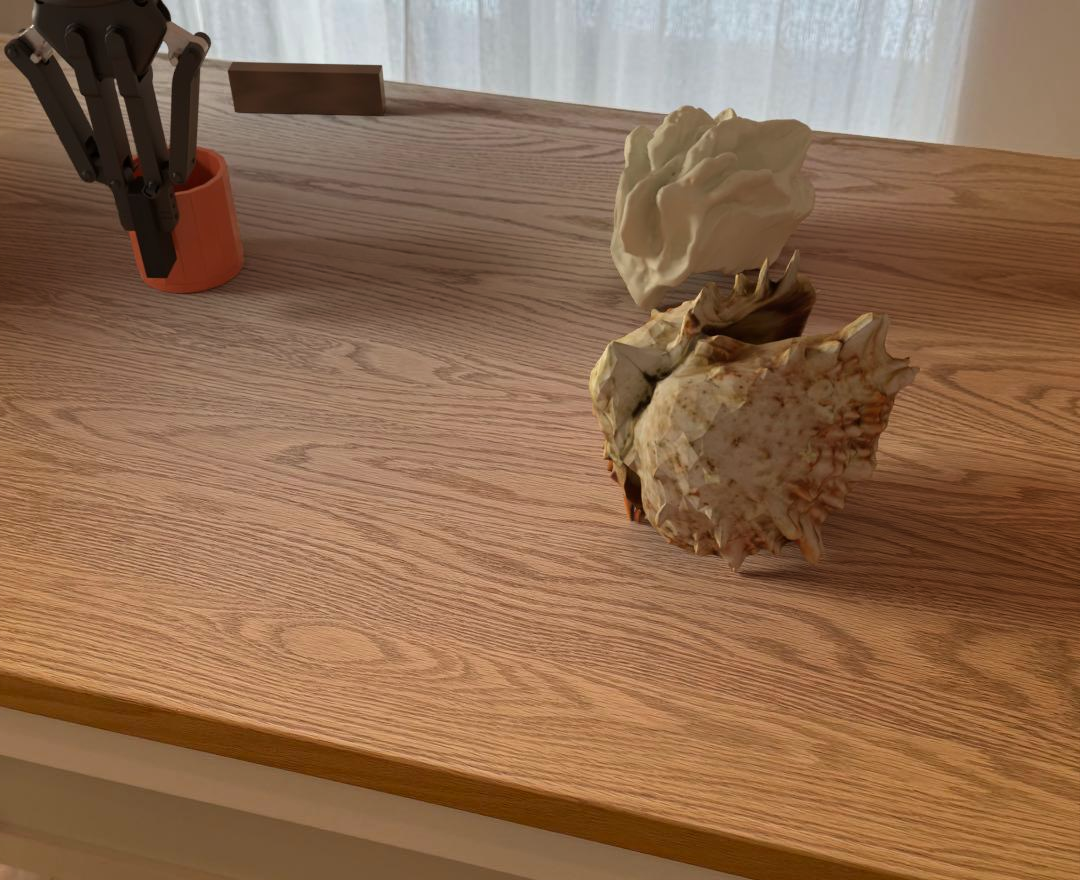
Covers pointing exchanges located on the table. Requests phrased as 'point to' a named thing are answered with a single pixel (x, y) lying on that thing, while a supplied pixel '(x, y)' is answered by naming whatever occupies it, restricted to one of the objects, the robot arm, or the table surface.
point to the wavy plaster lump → (707, 198)
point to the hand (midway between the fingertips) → (162, 267)
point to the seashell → (744, 416)
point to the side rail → (307, 88)
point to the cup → (200, 229)
